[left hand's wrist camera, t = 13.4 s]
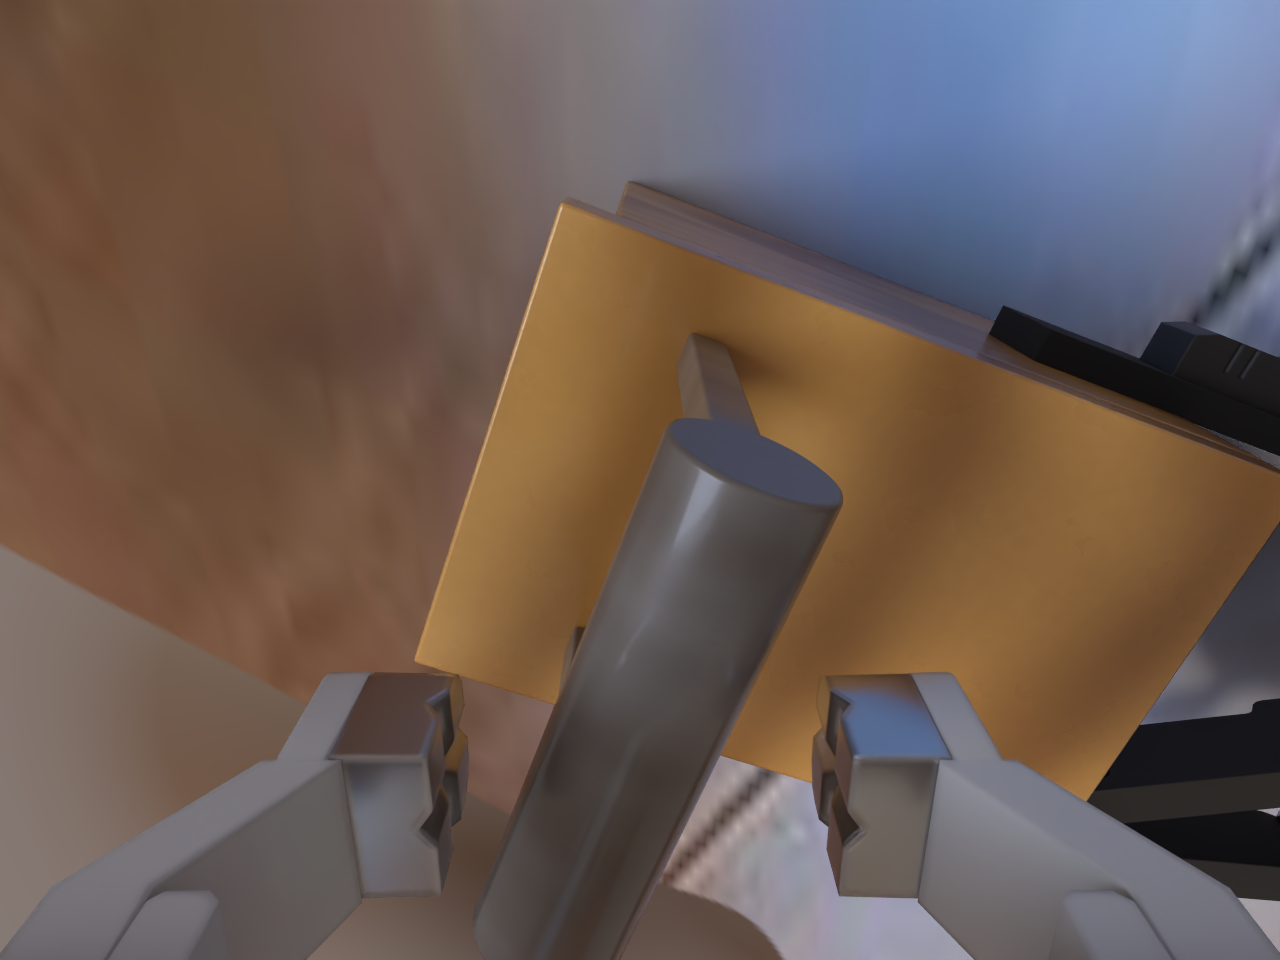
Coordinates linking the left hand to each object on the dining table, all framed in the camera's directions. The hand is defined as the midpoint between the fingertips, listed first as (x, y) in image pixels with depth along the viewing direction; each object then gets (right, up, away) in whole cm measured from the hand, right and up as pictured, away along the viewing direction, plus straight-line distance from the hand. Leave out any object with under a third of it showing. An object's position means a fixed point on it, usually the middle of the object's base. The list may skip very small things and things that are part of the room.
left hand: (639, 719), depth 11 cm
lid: (+4, +1, +7) cm, 8 cm away
